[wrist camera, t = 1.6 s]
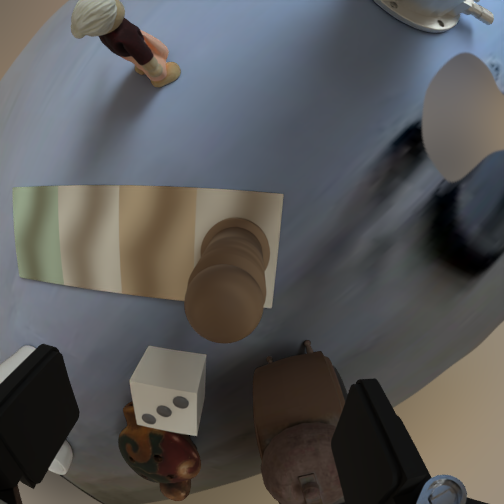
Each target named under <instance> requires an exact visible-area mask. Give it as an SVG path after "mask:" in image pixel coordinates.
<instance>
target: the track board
mask: <svg viewBox="0 0 504 504" xmlns="http://www.w3.org/2000/svg"><path fill="white" fill-rule="evenodd" d="M282 205H283V194H279V193H267V192H255V191H242V190H228V189H212V188H193V187H170V186H133V185H70V186H36V187H15V188H13V218H14V233H15V244H16V253H17V261H18V268H19V275H20V277H22V278H27V279H33V280H38V281H44V282H49V283H55V284H61V285H67V286H73V287H80V288H86V289H93V290H100V291H107V292H114V293H121V294H129V295H137V296H145V297H153V298H161V299H170V300H180V301H184V300H185V294H186V291H187V285H188V280H189V277H190V275H191V273H192V271H193V269H194V268H195V266H196V264H197V263H198V261H199V259H200V258H201V245H202V241H203V239H204V237H205V235H206V234H207V232H208V231H209V230H210V229H211V228H212V227H213V226H214V225H215V224H216V223H218V222H220V221H222V220H224V219H227V218H244V219H247V220H249V221H252V222H253V223H255V224H256V225H258V226H259V227H260V228H261V229H262V231H263V232H264V233H265V235H266V237H267V240H268V243H269V247H270V259H269V263H268V266H267V268H266V270H265V281H266V300H265V303H264V306H263V308H272V301H273V293H274V284H275V274H276V265H277V256H278V246H279V236H280V226H281V216H282Z"/></svg>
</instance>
